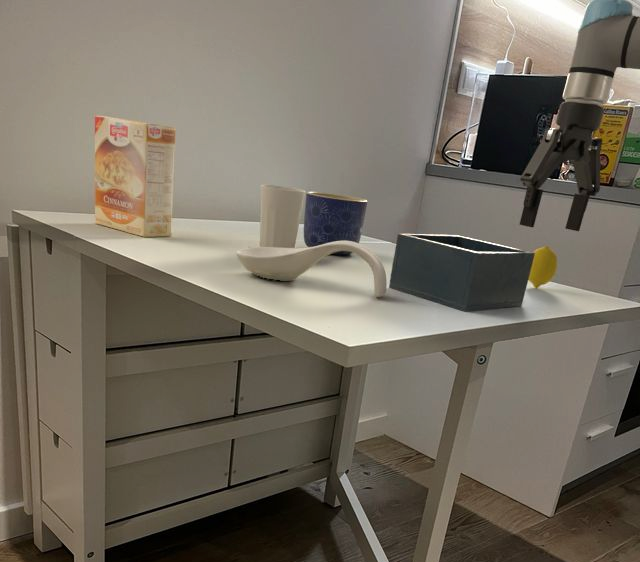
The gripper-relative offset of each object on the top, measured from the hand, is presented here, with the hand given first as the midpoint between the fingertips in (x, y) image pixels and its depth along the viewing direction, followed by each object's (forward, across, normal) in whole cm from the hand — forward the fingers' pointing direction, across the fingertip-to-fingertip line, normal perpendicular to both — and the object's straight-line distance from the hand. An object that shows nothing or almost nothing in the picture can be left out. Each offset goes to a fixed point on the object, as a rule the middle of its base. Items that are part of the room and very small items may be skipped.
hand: (549, 228), depth 125 cm
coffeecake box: (+12, +63, -48) cm, 80 cm away
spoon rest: (+12, +51, -3) cm, 52 cm away
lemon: (+11, 0, 0) cm, 11 cm away
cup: (+12, +44, -25) cm, 52 cm away
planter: (+12, +27, -32) cm, 43 cm away
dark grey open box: (+11, +28, +6) cm, 31 cm away
